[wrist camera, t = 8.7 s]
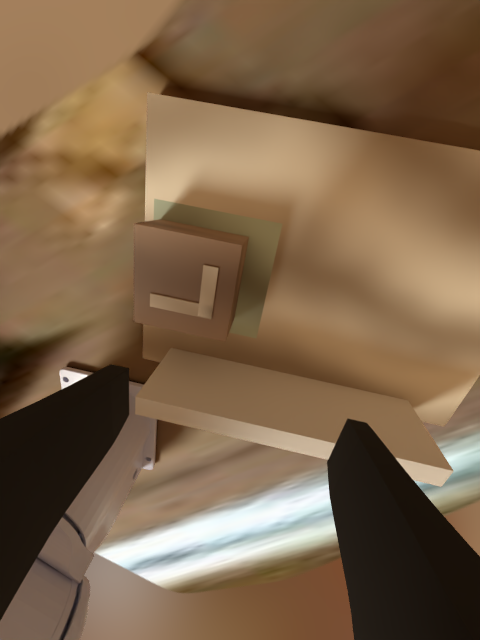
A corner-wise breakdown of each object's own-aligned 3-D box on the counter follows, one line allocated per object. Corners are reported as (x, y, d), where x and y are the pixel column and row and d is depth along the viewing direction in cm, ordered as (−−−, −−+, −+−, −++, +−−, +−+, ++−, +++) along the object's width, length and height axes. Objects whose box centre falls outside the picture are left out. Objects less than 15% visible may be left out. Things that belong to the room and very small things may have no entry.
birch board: (436, 415, 19) (444, 426, 18) (148, 351, 20) (142, 358, 19) (592, 176, 12) (618, 174, 11) (156, 99, 13) (147, 92, 12)
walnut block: (234, 318, 17) (225, 342, 14) (157, 302, 17) (132, 322, 14) (249, 236, 15) (242, 245, 12) (160, 219, 15) (132, 223, 12)
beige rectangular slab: (400, 414, 18) (441, 486, 13) (169, 362, 19) (135, 414, 14) (408, 400, 17) (453, 470, 13) (171, 347, 18) (135, 396, 14)
